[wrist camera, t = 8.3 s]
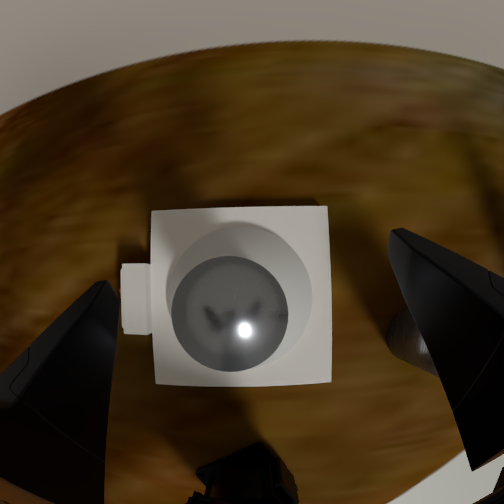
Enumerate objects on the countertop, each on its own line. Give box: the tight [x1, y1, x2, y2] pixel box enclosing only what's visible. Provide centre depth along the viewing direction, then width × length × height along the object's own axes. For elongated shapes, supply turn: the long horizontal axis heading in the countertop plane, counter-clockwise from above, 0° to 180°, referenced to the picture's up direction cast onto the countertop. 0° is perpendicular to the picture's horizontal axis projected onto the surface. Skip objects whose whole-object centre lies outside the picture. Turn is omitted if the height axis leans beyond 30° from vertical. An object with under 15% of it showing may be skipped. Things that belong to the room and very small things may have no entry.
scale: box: [120, 206, 332, 387], centre depth 22 cm, size 13×15×2 cm
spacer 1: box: [171, 256, 288, 372], centre depth 17 cm, size 4×4×10 cm
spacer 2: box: [387, 308, 440, 378], centre depth 18 cm, size 4×4×10 cm
